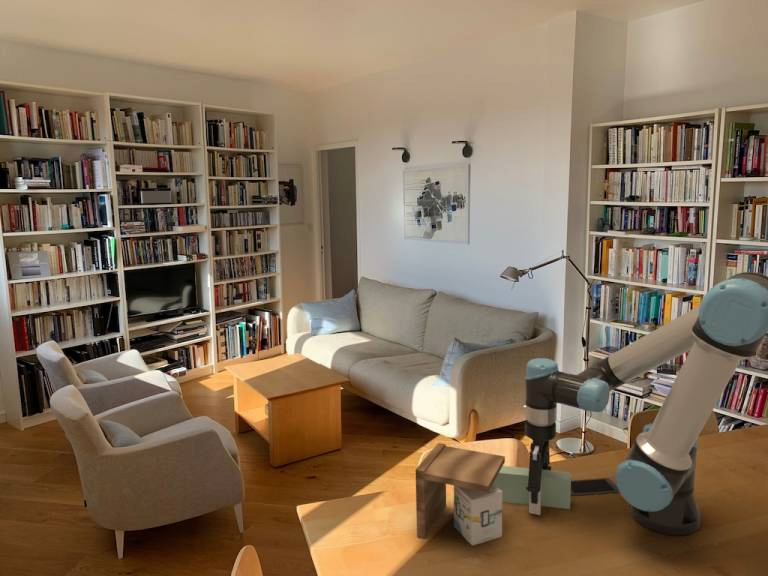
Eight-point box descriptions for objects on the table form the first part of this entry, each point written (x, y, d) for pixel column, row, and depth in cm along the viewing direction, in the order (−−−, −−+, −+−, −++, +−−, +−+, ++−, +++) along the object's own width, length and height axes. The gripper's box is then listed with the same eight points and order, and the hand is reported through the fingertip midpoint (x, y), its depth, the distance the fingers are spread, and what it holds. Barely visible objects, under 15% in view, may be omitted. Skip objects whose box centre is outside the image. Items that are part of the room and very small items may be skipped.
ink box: (453, 526, 140) (452, 482, 138) (483, 518, 144) (483, 474, 142) (471, 546, 133) (471, 499, 131) (503, 536, 136) (503, 490, 134)
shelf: (504, 519, 143) (504, 454, 140) (487, 554, 130) (488, 483, 127) (438, 504, 150) (438, 442, 147) (416, 536, 137) (415, 469, 134)
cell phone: (621, 494, 153) (621, 491, 153) (570, 497, 152) (570, 495, 152) (608, 480, 161) (609, 477, 160) (559, 483, 160) (559, 481, 159)
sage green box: (569, 501, 150) (570, 472, 149) (571, 531, 137) (572, 499, 136) (464, 489, 157) (464, 462, 156) (457, 517, 144) (457, 487, 143)
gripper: (533, 403, 156) (532, 480, 160) (515, 435, 137) (514, 522, 141) (562, 407, 153) (560, 485, 157) (548, 441, 134) (545, 529, 138)
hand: (538, 503), depth 149 cm, fingers open, 9 cm apart
